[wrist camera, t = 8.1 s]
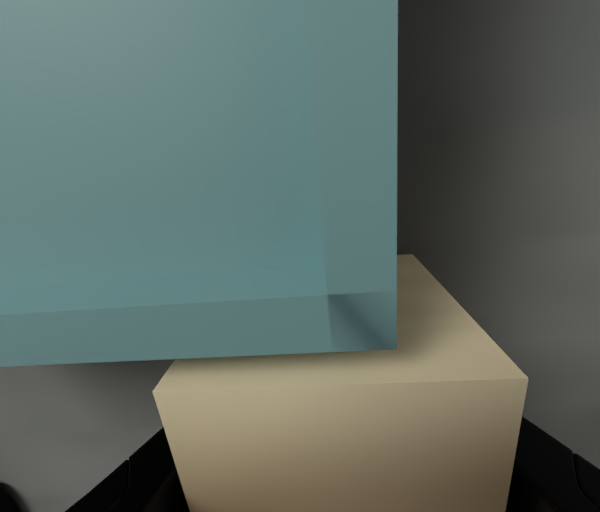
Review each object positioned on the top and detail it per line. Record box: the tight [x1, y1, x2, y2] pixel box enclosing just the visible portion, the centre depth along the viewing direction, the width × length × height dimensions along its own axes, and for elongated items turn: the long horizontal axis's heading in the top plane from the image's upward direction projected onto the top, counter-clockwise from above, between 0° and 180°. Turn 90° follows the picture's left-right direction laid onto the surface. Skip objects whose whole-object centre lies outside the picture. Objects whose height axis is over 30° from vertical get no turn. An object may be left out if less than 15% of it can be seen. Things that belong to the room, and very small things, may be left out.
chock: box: [152, 254, 529, 512], centre depth 7 cm, size 6×5×5 cm
